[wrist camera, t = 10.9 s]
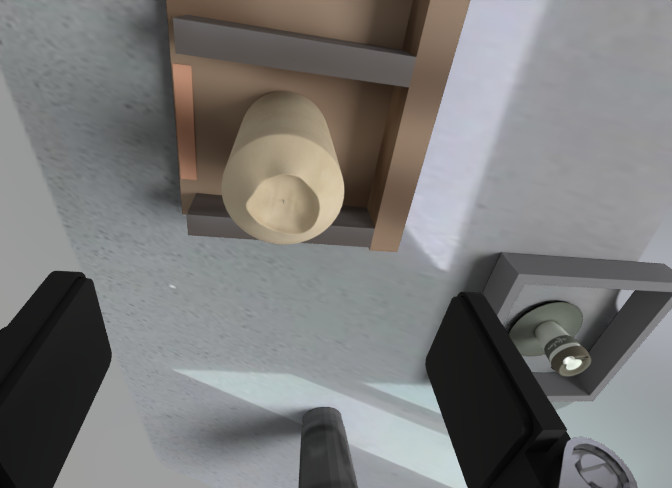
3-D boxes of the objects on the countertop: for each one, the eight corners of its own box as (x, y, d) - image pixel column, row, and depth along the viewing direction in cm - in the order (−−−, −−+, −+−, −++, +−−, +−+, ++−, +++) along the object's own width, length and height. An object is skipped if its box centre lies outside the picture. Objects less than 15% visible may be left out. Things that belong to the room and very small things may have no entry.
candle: (235, 165, 25) (209, 251, 17) (248, 78, 22) (224, 130, 14) (316, 182, 26) (329, 270, 18) (338, 103, 23) (365, 163, 15)
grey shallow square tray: (501, 252, 33) (518, 273, 30) (664, 263, 36) (692, 284, 33) (442, 377, 42) (452, 402, 40) (576, 378, 45) (592, 401, 43)
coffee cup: (534, 377, 44) (560, 417, 40) (464, 343, 39) (485, 385, 35) (626, 310, 39) (667, 348, 35) (559, 262, 34) (596, 299, 30)
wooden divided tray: (149, -304, 15) (110, -388, 12) (493, -202, 18) (541, -247, 14) (185, 207, 27) (171, 237, 24) (384, 223, 30) (397, 252, 27)
